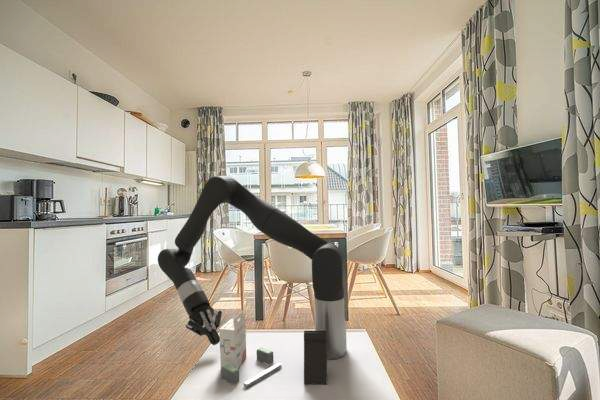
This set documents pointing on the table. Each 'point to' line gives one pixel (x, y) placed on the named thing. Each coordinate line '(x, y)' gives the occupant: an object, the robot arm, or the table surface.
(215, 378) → the table surface
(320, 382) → the phone stand
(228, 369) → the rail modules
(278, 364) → the rail
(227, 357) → the ink cartridge box
